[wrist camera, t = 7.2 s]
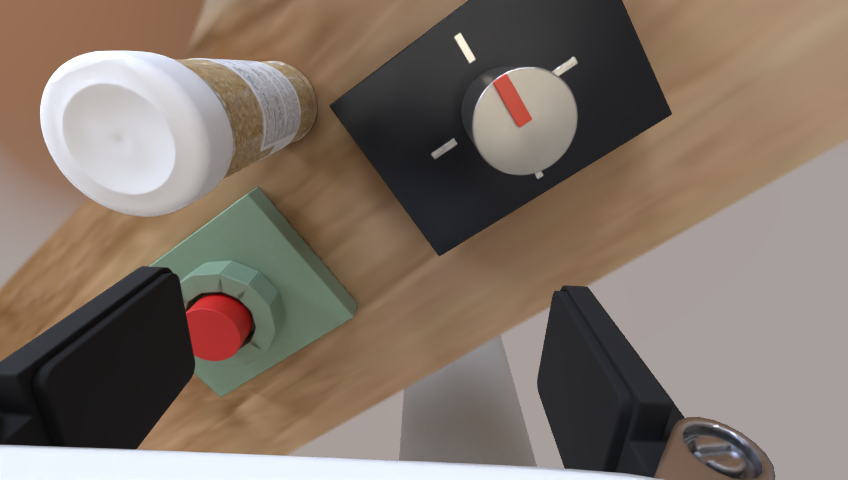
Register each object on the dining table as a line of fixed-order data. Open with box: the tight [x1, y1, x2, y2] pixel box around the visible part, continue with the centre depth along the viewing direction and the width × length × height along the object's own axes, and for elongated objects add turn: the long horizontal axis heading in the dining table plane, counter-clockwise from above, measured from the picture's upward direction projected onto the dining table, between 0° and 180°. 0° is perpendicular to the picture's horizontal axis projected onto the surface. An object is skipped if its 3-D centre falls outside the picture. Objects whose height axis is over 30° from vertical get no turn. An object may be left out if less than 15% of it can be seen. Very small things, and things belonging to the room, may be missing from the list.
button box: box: [149, 187, 357, 397], centre depth 27 cm, size 12×10×4 cm
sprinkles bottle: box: [40, 51, 317, 216], centre depth 18 cm, size 5×5×14 cm
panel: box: [330, 0, 672, 256], centre depth 22 cm, size 14×10×3 cm
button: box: [186, 294, 252, 361], centre depth 25 cm, size 4×4×2 cm
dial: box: [461, 67, 578, 175], centre depth 18 cm, size 4×4×6 cm
